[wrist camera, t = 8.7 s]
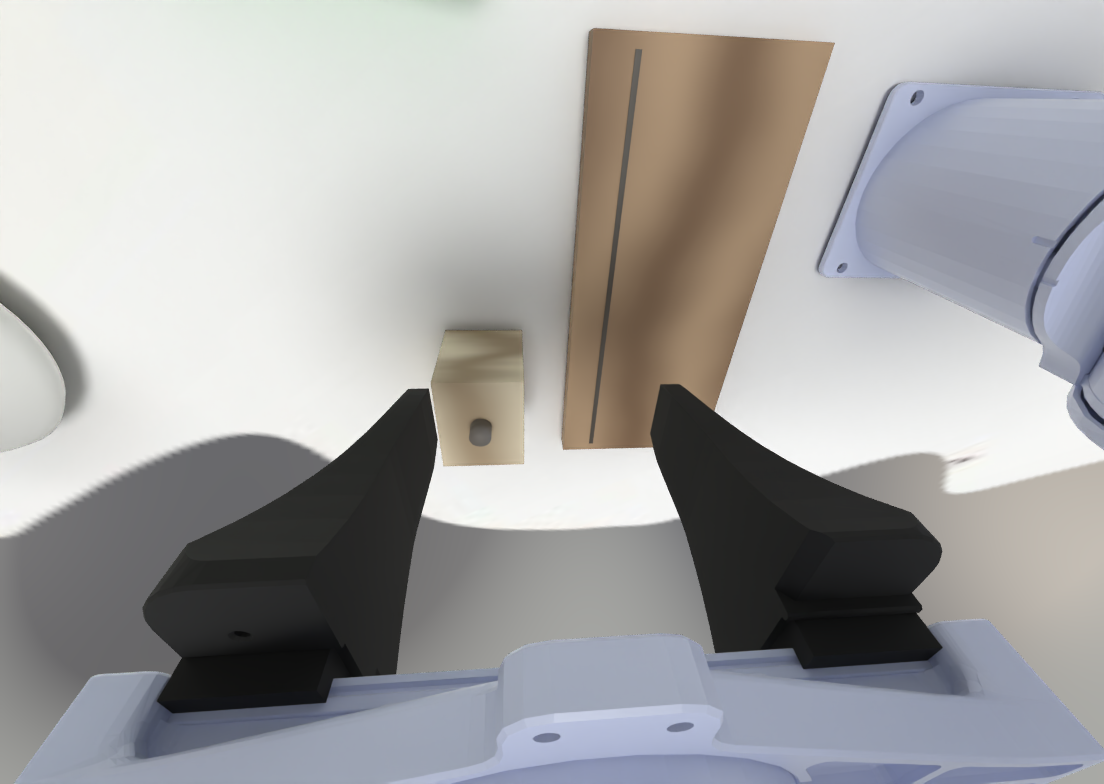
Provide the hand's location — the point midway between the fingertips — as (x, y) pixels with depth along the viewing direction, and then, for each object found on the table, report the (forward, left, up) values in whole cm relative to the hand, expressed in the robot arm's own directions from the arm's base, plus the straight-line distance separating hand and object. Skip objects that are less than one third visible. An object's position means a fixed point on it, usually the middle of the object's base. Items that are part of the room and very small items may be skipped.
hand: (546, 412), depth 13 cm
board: (-6, 0, -10) cm, 12 cm away
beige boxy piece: (+3, +5, -10) cm, 11 cm away
